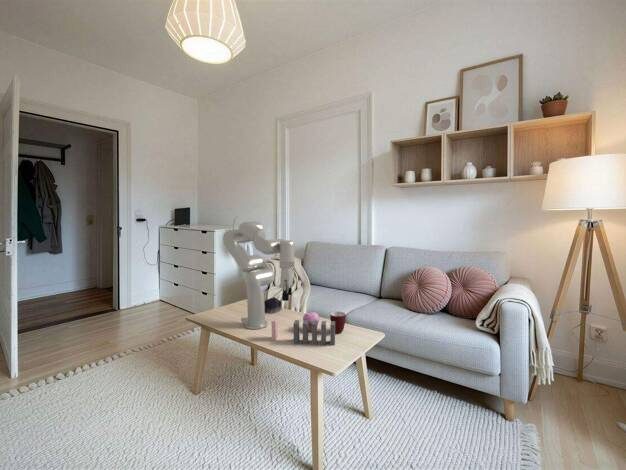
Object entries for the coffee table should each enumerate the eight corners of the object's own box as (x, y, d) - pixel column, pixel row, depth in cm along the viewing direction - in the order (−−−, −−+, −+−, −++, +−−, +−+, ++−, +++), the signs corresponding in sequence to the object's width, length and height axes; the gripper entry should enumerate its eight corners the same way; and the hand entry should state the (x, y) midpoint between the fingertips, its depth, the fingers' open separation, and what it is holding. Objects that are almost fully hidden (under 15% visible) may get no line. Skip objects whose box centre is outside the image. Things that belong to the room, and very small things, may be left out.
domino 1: (293, 343, 150) (293, 323, 149) (295, 339, 155) (295, 320, 154) (297, 343, 149) (297, 323, 149) (299, 339, 154) (299, 320, 154)
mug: (336, 326, 171) (336, 309, 170) (350, 329, 167) (350, 311, 166) (327, 333, 162) (327, 314, 161) (341, 336, 158) (341, 317, 157)
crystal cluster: (260, 309, 205) (258, 295, 204) (280, 306, 209) (279, 292, 207) (262, 317, 193) (260, 302, 191) (283, 313, 196) (282, 299, 194)
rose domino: (271, 340, 153) (271, 321, 152) (274, 336, 158) (273, 317, 157) (275, 341, 153) (275, 321, 152) (278, 336, 158) (277, 318, 157)
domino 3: (311, 344, 149) (311, 324, 148) (313, 340, 154) (313, 320, 153) (316, 344, 148) (315, 324, 148) (317, 340, 153) (317, 320, 153)
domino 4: (321, 344, 148) (321, 324, 147) (322, 340, 153) (322, 320, 152) (325, 344, 148) (325, 324, 147) (326, 340, 153) (326, 321, 152)
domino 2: (302, 343, 149) (302, 323, 148) (304, 339, 154) (304, 320, 153) (306, 344, 149) (306, 324, 148) (308, 339, 154) (308, 320, 153)
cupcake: (300, 329, 167) (299, 311, 166) (312, 326, 172) (312, 308, 172) (309, 334, 160) (309, 316, 159) (322, 330, 165) (322, 312, 165)
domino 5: (330, 345, 148) (330, 324, 147) (331, 340, 152) (331, 321, 152) (334, 345, 147) (334, 325, 147) (335, 341, 152) (335, 321, 152)
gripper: (282, 261, 164) (282, 293, 165) (276, 267, 147) (276, 302, 148) (296, 262, 164) (296, 293, 165) (291, 268, 146) (292, 303, 148)
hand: (287, 297), depth 157 cm, fingers open, 9 cm apart
